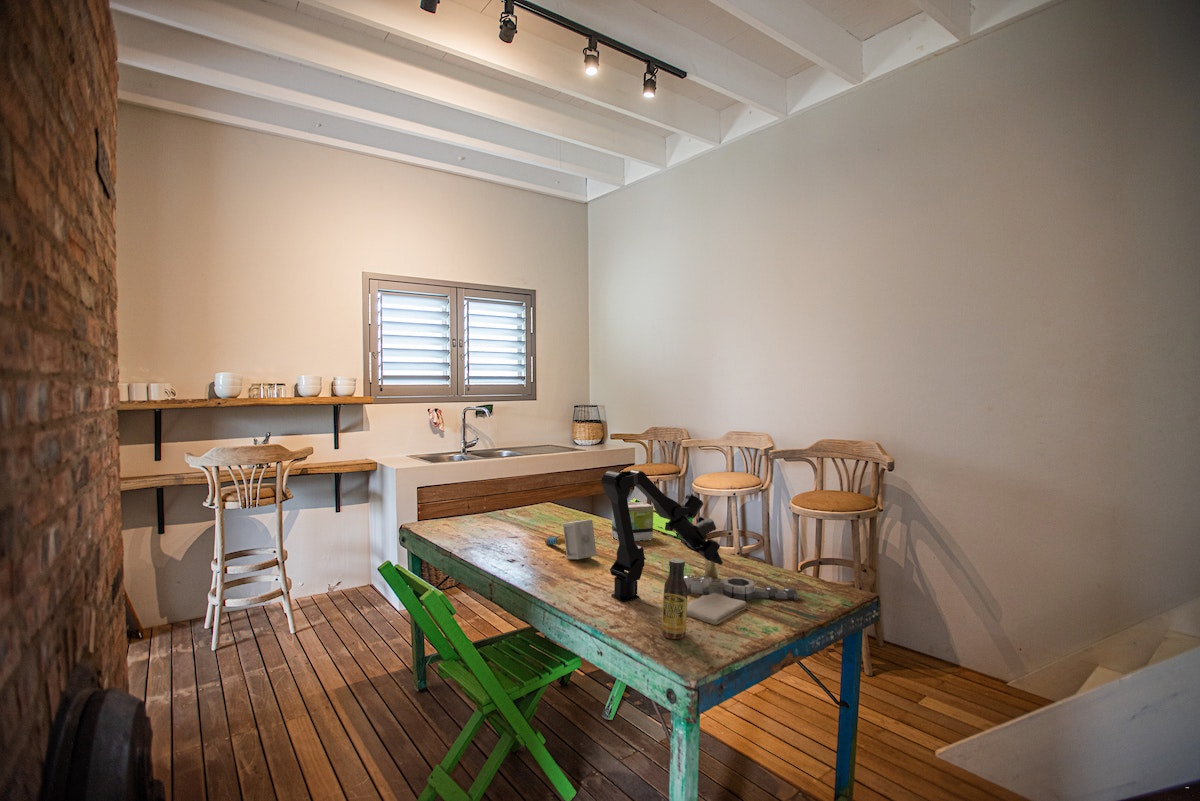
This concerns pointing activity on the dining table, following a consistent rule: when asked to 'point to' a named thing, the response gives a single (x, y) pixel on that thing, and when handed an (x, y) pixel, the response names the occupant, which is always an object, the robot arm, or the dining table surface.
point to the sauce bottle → (675, 601)
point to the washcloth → (714, 608)
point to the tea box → (638, 521)
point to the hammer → (576, 539)
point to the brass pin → (711, 568)
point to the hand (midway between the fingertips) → (715, 559)
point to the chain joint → (736, 588)
